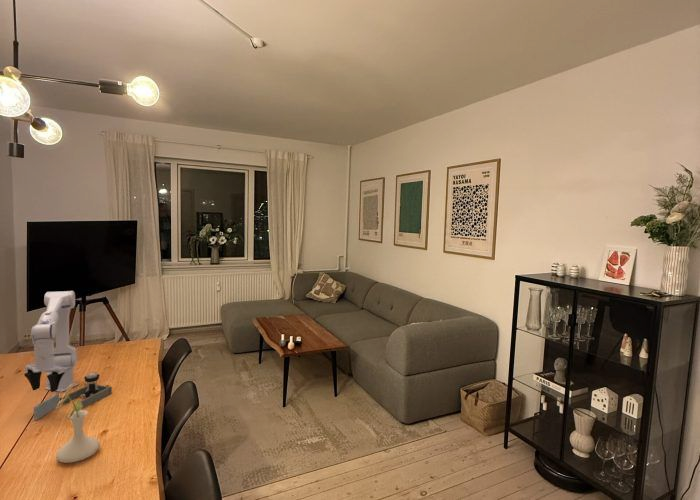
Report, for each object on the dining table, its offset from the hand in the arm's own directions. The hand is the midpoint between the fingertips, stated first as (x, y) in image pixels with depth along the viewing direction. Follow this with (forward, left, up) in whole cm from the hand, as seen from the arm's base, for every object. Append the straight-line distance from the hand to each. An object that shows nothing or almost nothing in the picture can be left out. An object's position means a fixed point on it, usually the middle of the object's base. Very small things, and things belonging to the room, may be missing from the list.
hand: (45, 389), depth 139 cm
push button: (+2, +17, -11) cm, 20 cm away
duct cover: (-2, +2, -10) cm, 11 cm away
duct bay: (+2, +14, -10) cm, 18 cm away
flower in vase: (+33, -16, -11) cm, 38 cm away
